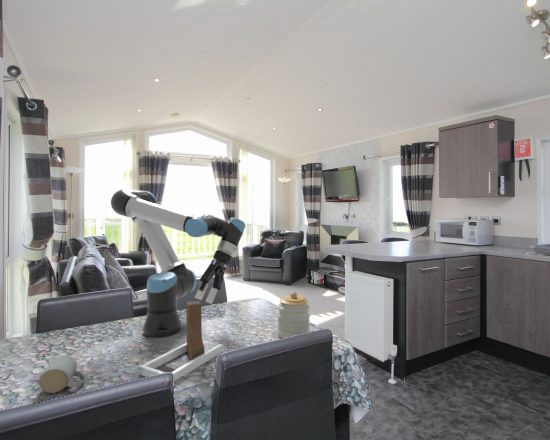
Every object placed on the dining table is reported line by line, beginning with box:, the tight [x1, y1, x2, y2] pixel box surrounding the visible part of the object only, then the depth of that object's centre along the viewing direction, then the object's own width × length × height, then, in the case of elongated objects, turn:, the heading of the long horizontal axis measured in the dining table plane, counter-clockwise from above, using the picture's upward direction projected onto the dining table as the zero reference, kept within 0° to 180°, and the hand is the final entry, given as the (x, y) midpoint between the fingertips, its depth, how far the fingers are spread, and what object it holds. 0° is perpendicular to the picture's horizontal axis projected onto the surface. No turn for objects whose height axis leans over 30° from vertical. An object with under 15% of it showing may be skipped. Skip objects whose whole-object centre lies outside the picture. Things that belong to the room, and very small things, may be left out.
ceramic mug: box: [39, 355, 87, 394], centre depth 94 cm, size 11×8×8 cm
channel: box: [139, 342, 223, 383], centre depth 109 cm, size 12×25×2 cm, turn 151°
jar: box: [277, 291, 311, 339], centre depth 132 cm, size 13×13×18 cm
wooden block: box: [185, 300, 205, 361], centre depth 113 cm, size 9×4×18 cm, turn 25°
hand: (203, 301), depth 133 cm, fingers open, 13 cm apart
